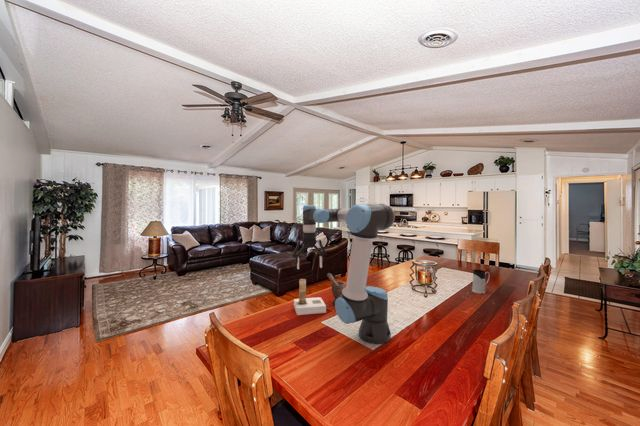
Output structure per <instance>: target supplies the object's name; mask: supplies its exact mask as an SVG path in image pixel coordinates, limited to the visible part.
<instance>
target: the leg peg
mask: <svg viewBox="0 0 640 426" xmlns="http://www.w3.org/2000/svg"><path fill="white" fill-rule="evenodd" d="M298 283H299V285H298V286H299V287H298V299H299V305H306V298H307V279H306V278H300V279H299V281H298Z"/></svg>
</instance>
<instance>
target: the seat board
mask: <svg viewBox="0 0 640 426" xmlns="http://www.w3.org/2000/svg"><path fill="white" fill-rule="evenodd" d="M293 307H294V310H295V313H296V315H297V316H303V315H314V314H326V313H327V305H326V303H325V302H324V300H323V299H322V297H321V296H320V297H319V296H317V297H306V305H299V298H294V299H293Z"/></svg>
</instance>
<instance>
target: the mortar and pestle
mask: <svg viewBox="0 0 640 426" xmlns="http://www.w3.org/2000/svg"><path fill="white" fill-rule="evenodd" d="M326 278H328V280H329V281H330V282H331V292H332V295H333V297H334V299H333V300H332V304H333V305H334V306H335V301H336V299H337V298H339V297H341V296H342V290H343V289H344V288H345V287H346V282H345V281H339V280H337V281H336V280H335V278H334V276H333V274H332V273H330V272H328V273H327V274H326Z"/></svg>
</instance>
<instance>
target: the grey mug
mask: <svg viewBox="0 0 640 426" xmlns="http://www.w3.org/2000/svg"><path fill="white" fill-rule="evenodd" d="M487 273H488V278H487V281H486V276H487V275H486V274H487ZM490 274H491V273H490V272H489V271H485V270H481V269H473V273H472V288H471V292H473V293H475V294H481V293H483V294H486V293H485V292H486V285H487V284H488V283H489V281H490V279H491V278H490V277H491V275H490Z"/></svg>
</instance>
